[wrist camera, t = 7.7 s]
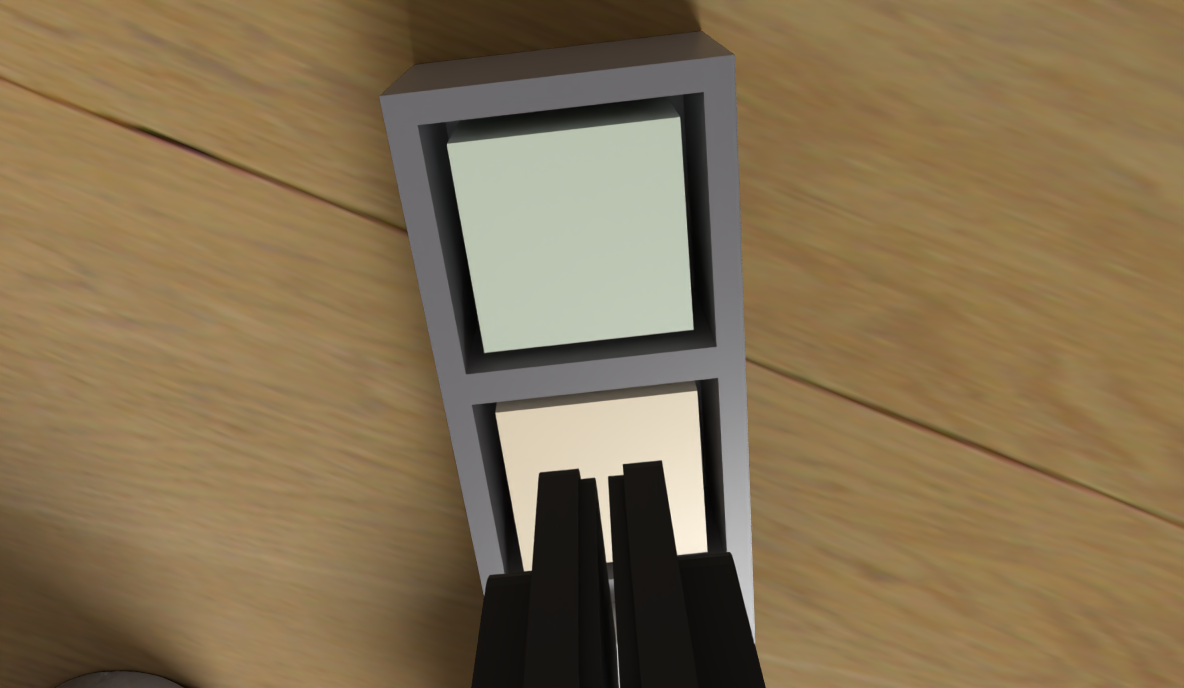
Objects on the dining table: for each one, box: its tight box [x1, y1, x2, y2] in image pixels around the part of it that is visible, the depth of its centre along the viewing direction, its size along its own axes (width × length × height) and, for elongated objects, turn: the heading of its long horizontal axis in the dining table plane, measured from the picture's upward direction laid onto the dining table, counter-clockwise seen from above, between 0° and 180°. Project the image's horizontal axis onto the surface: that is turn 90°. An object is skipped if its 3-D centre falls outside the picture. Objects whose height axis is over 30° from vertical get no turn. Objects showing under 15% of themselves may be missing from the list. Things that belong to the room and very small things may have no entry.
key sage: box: [447, 96, 693, 353], centre depth 25 cm, size 6×6×4 cm
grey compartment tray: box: [379, 31, 755, 643], centre depth 29 cm, size 9×25×6 cm, turn 6°
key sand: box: [495, 381, 707, 571], centre depth 29 cm, size 6×6×4 cm
